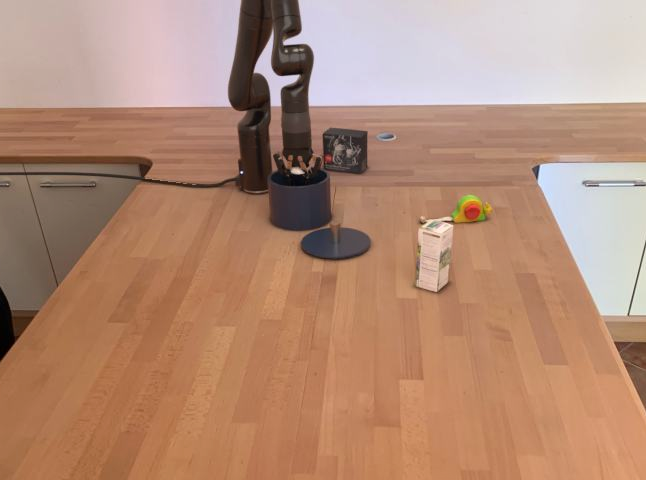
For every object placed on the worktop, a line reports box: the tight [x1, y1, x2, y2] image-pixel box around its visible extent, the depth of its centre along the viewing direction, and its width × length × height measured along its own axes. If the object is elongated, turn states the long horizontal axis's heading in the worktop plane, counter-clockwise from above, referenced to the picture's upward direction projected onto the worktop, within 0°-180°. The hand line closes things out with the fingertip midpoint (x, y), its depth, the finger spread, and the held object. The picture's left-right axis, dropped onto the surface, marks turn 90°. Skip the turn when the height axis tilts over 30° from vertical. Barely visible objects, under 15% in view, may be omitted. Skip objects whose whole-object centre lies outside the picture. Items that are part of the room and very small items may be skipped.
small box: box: [322, 127, 369, 175], centre depth 225 cm, size 13×7×12 cm, turn 68°
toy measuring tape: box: [419, 194, 493, 224], centre depth 189 cm, size 6×19×7 cm, turn 95°
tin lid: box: [300, 220, 371, 260], centre depth 178 cm, size 18×18×6 cm
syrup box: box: [414, 220, 454, 293], centre depth 157 cm, size 6×6×14 cm
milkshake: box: [290, 163, 311, 187], centre depth 189 cm, size 4×5×10 cm
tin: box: [267, 166, 332, 232], centre depth 192 cm, size 17×17×12 cm
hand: (300, 191), depth 191 cm, fingers closed on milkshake, 4 cm apart
